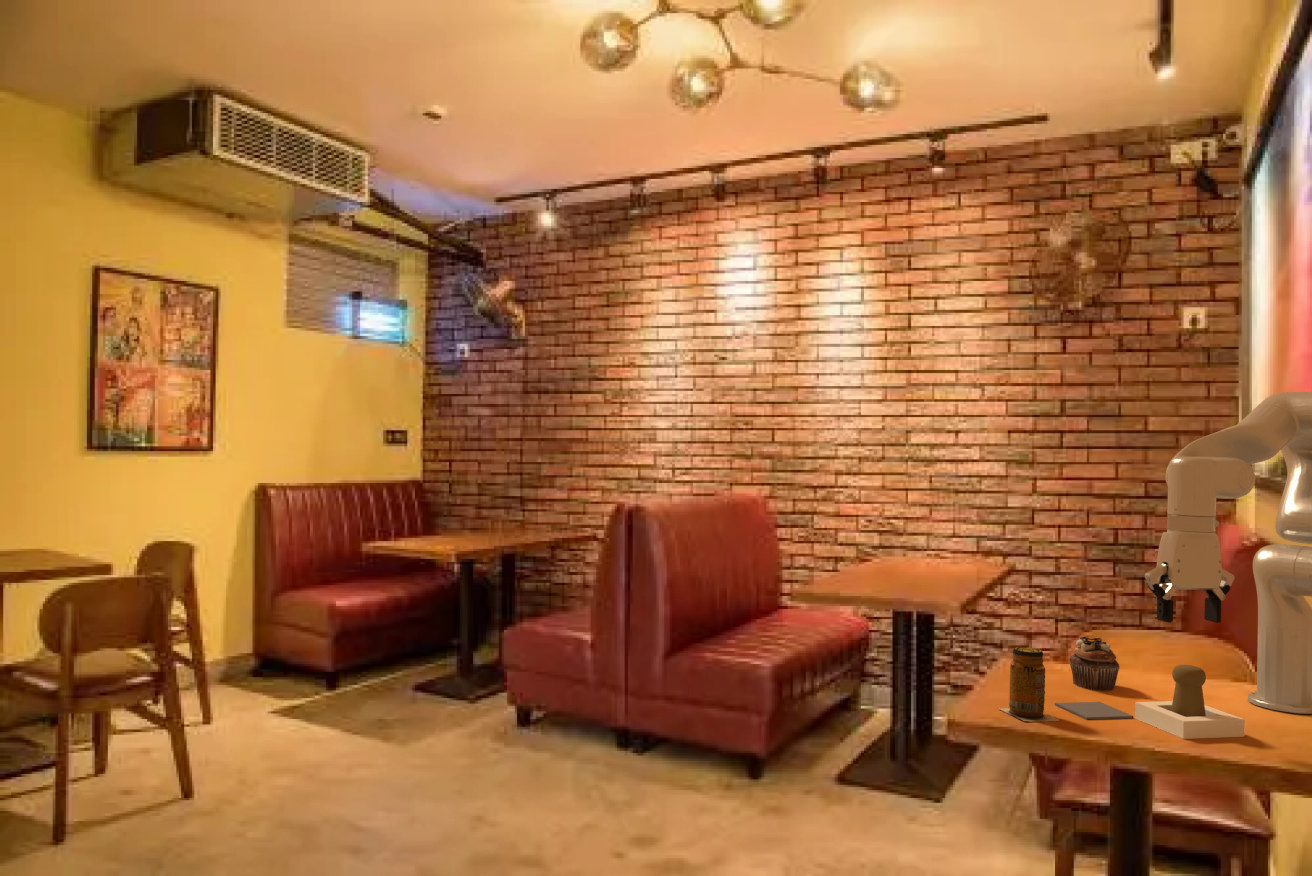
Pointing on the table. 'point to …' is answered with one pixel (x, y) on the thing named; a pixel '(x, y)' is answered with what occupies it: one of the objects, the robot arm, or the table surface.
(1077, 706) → the coaster
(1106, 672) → the cupcake
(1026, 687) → the condiment
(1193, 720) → the holder
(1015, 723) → the table surface
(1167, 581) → the robot arm
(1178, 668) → the cork
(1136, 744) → the table surface
